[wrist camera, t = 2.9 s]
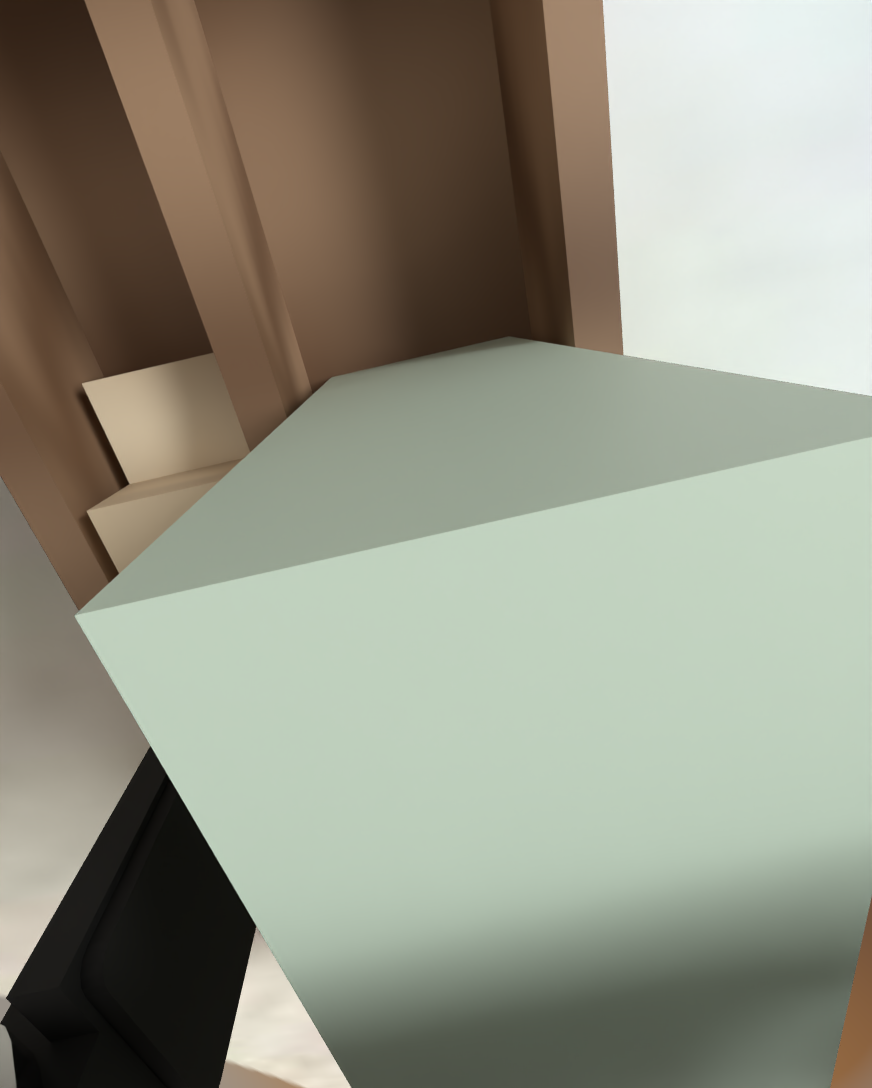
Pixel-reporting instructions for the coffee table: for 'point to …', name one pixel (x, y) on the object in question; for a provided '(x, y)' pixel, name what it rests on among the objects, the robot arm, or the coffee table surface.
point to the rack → (282, 209)
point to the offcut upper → (150, 509)
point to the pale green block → (532, 714)
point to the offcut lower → (168, 418)
